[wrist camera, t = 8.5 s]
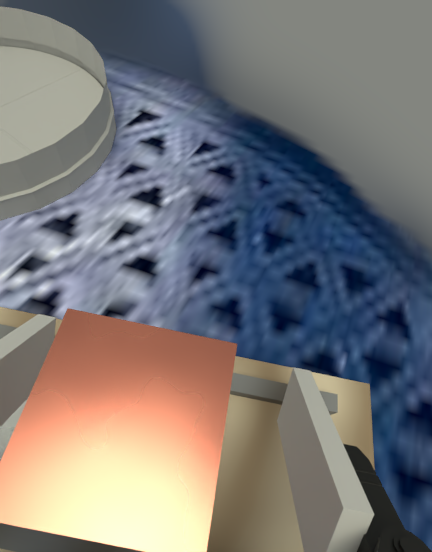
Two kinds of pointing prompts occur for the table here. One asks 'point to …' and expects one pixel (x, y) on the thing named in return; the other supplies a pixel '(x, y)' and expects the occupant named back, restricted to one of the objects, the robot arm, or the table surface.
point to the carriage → (119, 436)
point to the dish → (49, 111)
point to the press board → (237, 461)
